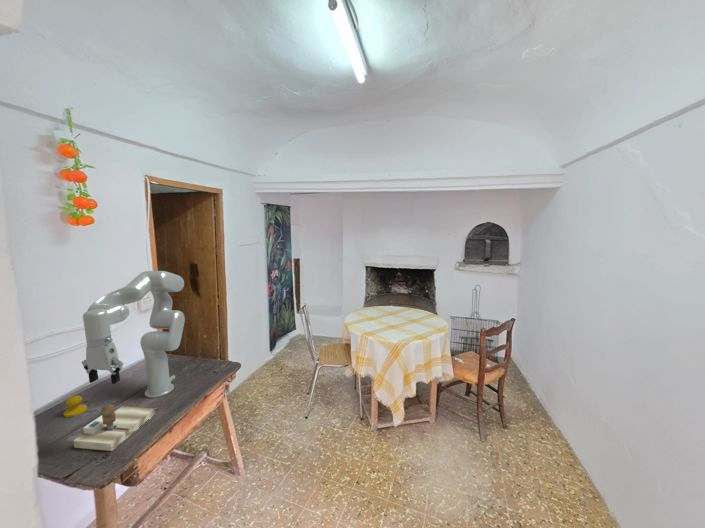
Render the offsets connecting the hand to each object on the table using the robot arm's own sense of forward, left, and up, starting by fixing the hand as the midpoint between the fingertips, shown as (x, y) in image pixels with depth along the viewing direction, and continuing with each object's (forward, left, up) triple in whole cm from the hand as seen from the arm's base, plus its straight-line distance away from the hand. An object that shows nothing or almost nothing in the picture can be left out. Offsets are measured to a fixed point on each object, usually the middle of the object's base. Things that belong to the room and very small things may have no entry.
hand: (105, 381), depth 123 cm
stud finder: (0, -5, -20) cm, 21 cm away
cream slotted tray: (-3, 0, -23) cm, 23 cm away
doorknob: (-12, -30, -23) cm, 40 cm away
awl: (0, 0, -23) cm, 23 cm away
